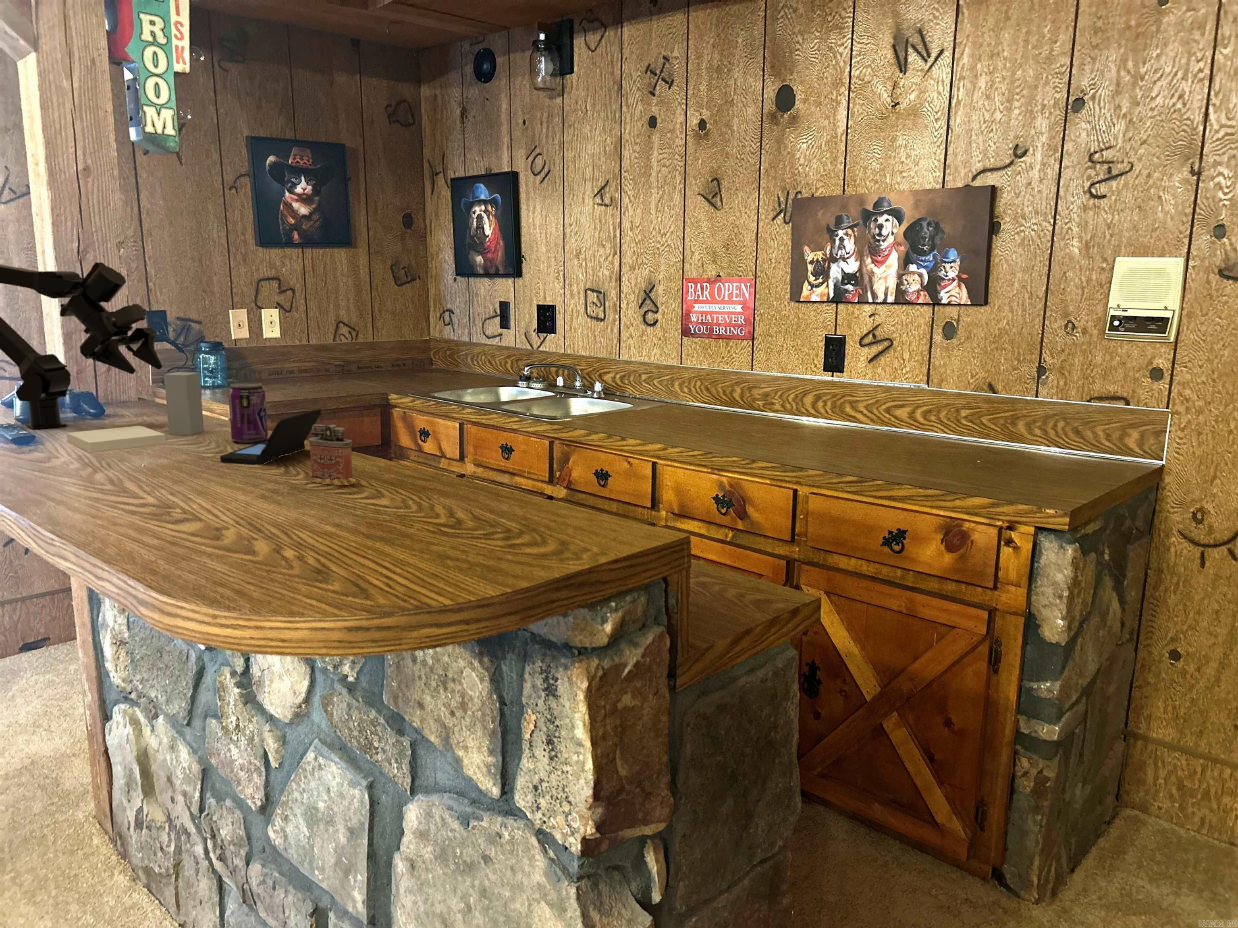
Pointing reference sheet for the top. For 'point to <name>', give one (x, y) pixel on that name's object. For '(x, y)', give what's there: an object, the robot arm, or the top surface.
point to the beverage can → (248, 412)
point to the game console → (277, 440)
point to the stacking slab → (115, 438)
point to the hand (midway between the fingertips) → (147, 370)
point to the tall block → (184, 403)
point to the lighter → (330, 453)
